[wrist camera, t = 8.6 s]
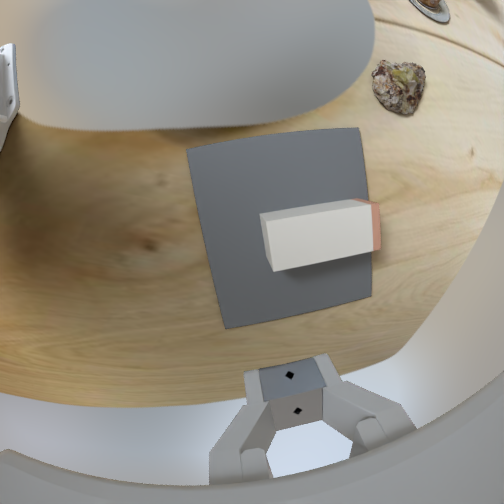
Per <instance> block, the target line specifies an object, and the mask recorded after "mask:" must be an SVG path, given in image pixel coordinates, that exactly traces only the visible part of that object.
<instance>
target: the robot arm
mask: <svg viewBox="0 0 504 504" xmlns="http://www.w3.org/2000/svg"><path fill="white" fill-rule="evenodd" d="M19 107H20V101H19V93H18V84H17V72H16V47H15V44H12V43H10V44H6V45H4V46H2V47H0V151H1V149H2V146H3V144H4V141H5V138H6V135H7V131H8V128H9V126H10V124H11V122H12V121H13V119H14V117H15V116H16V114H17V112H18V110H19ZM258 370H259V371H258ZM244 382H245V390H246V399H247V405H244V406H243V407H242V408H241V409H240V411H239V412H238V414H237V415H236V416H235V418H234V419H233V421H232V422H231V424H230V425H229V426H228V428H227V429H226V431H225V432H224V433H223V435H222V436H221V437H220V439H219V440H218V442H217V443H216V444H215V446H214V447H213V448H212V450H211V451H210V452H209V485H200V486H177V485H175V486H174V485H154V484H143V483H134V482H126V481H118V480H113V479H107V478H101V477H96V476H92V475H87V474H83V473H78V472H74V471H71V470H67V469H64V468H60V467H57V466H53V465H51V464H47V463H44V462H41V461H39V460H36V459H33V458H30V457H28V456H26V455H23V454H21V453H18V452H16V451H13V450H10V449H6V450H4V451H1V452H0V504H504V371H503V372H501V373H500V374H499V375H498V376H497V377H495V378H494V379H493V380H492V381H491V382H489V383H488V384H487V385H485V386H484V387H483V388H482V389H480V390H479V391H477V392H476V393H475V394H473V395H472V396H471V397H469V398H468V399H466V400H465V401H463V402H462V403H461V404H459V405H457V406H456V407H454V408H453V409H451V410H450V411H448V412H446V413H445V414H443V415H442V416H440V417H438V418H436V419H435V420H433V421H431V422H430V423H428V424H426V425H424V426H423V427H420V428H418V429H417V428H416V427H415V426H414V424H413V422H412V421H411V419H410V418H409V416H408V415H407V413H406V412H405V410H404V409H403V407H402V406H401V404H399V403H396V402H394V401H391V400H389V399H386V398H384V397H382V396H380V395H377V394H375V393H373V392H370V391H368V390H366V389H364V388H361V387H359V386H357V385H355V384H353V383H350V382H348V381H344V382H342V380H341V378H340V376H339V374H338V372H337V370H336V369H335V367H334V365H333V363H332V361H331V359H330V357H329V356H328V354H326V353H324V354H321V355H317V356H314V357H310V358H307V359H303V360H299V361H295V362H291V363H286V364H282V365H277V366H272V367H266V368H260V369H256V370H250V371H244ZM319 420H323V421H324V422H326V423H327V424H328V425H330V426H331V427H333V428H334V429H335V430H337V431H338V432H340V433H341V434H343V435H344V436H345V437H347V438H349V439H350V440H352V441H353V444H352V449H351V453H350V457H349V459H346V460H343V461H340V462H337V463H334V464H330V465H327V466H324V467H320V468H317V469H313V470H309V471H305V472H300V473H296V474H292V475H287V476H282V477H277V478H273V475H272V472H271V469H270V466H269V463H268V460H267V457H266V453H267V451H268V448H269V446H270V444H271V442H272V440H273V438H274V436H275V433H276V431H278V430H282V429H286V428H291V427H294V426H298V425H303V424H307V423H311V422H315V421H319Z"/></svg>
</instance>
